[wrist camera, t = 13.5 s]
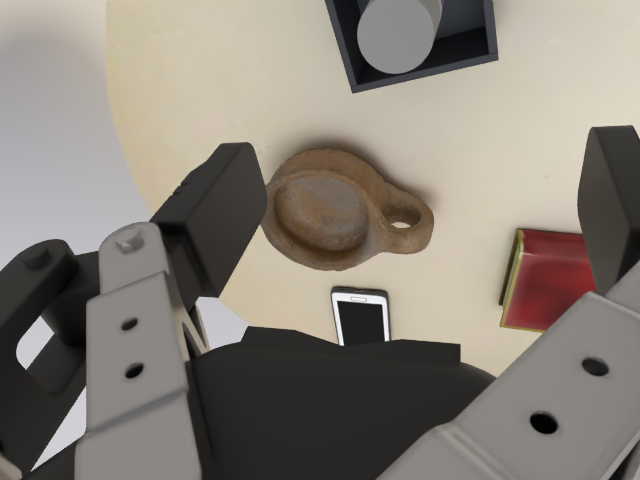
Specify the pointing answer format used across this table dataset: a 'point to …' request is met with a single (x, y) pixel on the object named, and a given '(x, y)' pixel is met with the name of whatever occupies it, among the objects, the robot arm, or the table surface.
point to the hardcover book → (543, 279)
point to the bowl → (340, 212)
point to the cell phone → (360, 316)
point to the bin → (447, 50)
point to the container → (398, 33)
